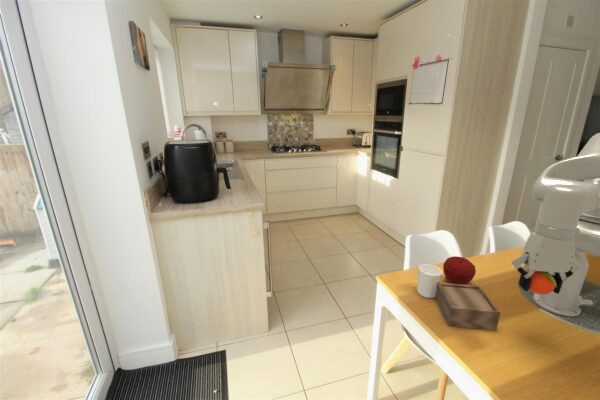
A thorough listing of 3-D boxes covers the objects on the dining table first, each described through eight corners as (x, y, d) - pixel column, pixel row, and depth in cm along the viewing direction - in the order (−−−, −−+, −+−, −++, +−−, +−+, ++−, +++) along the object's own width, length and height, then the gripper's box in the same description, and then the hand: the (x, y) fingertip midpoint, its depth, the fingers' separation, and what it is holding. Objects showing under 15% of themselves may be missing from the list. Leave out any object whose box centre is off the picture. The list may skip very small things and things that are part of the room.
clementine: (563, 300, 75) (570, 277, 73) (541, 303, 74) (548, 280, 72) (534, 283, 83) (540, 262, 81) (514, 286, 82) (520, 265, 80)
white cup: (440, 300, 101) (444, 276, 98) (417, 297, 103) (421, 274, 100) (435, 287, 108) (438, 265, 105) (413, 285, 110) (416, 263, 107)
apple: (435, 282, 112) (439, 256, 109) (449, 273, 118) (453, 249, 115) (464, 296, 103) (469, 268, 100) (477, 286, 109) (482, 259, 106)
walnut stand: (476, 302, 100) (479, 286, 98) (496, 330, 87) (500, 312, 85) (435, 298, 102) (437, 282, 100) (448, 325, 89) (451, 307, 87)
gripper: (580, 227, 75) (563, 284, 80) (510, 224, 78) (497, 279, 83) (605, 239, 68) (584, 300, 73) (527, 235, 71) (512, 294, 76)
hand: (538, 289), depth 78 cm, fingers closed on clementine, 7 cm apart
